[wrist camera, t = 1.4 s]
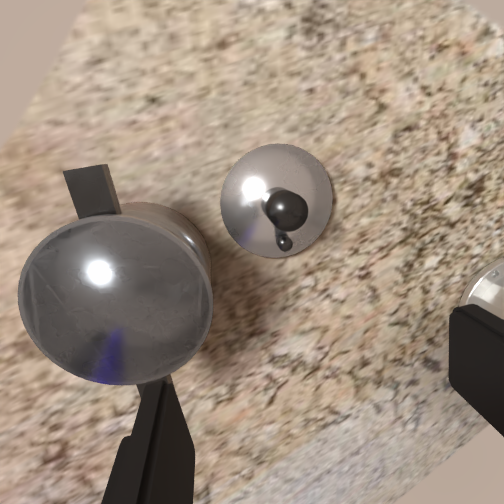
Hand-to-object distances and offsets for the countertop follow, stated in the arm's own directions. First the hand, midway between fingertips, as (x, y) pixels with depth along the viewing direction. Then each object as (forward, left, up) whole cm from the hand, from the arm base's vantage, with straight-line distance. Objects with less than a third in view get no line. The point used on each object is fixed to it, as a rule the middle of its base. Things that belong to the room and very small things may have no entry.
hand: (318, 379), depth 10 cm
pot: (+11, +2, -22) cm, 25 cm away
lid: (-3, -2, -23) cm, 23 cm away
